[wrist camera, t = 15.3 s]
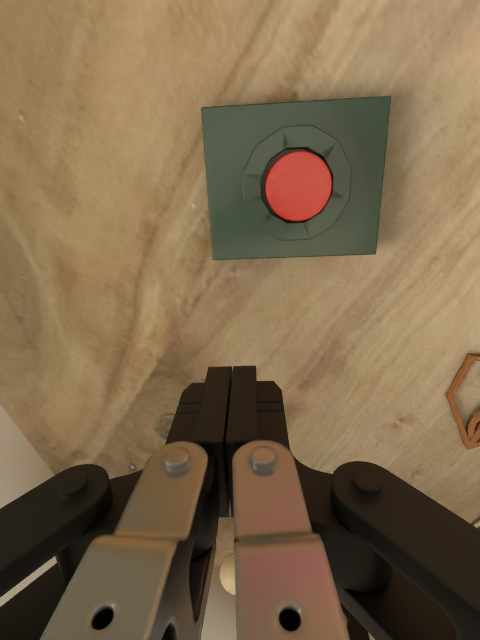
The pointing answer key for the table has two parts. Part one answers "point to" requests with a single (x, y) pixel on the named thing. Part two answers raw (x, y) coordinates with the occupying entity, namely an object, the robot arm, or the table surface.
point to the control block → (273, 143)
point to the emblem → (471, 435)
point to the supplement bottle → (477, 525)
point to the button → (298, 185)
